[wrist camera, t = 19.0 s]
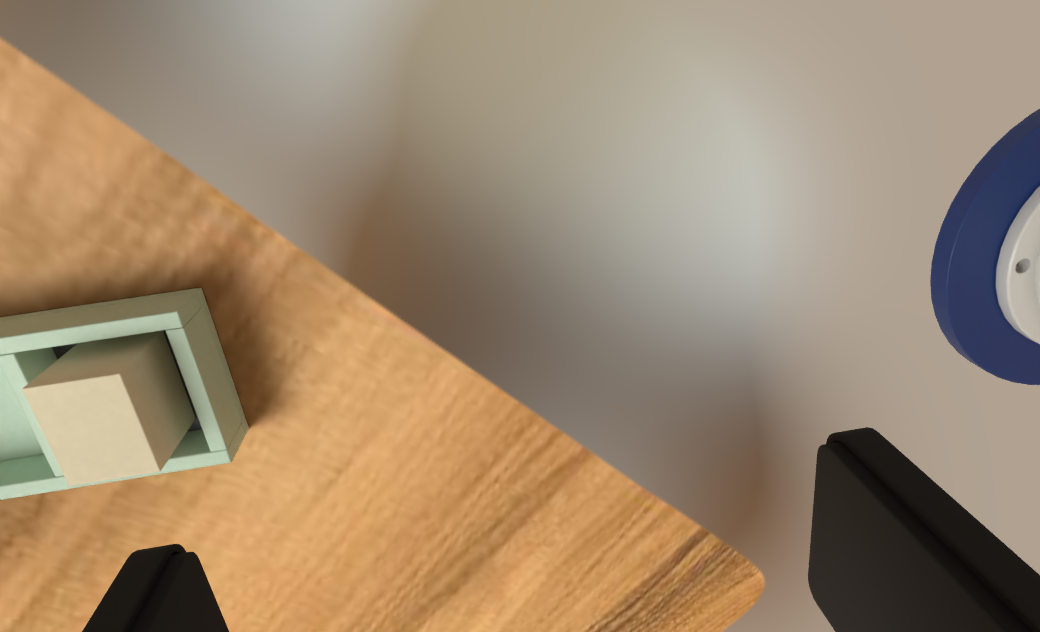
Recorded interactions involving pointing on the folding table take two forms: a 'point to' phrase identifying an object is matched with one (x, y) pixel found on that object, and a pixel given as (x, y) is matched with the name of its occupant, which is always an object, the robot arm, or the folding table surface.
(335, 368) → the folding table surface
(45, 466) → the pad tray
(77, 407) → the beige block
